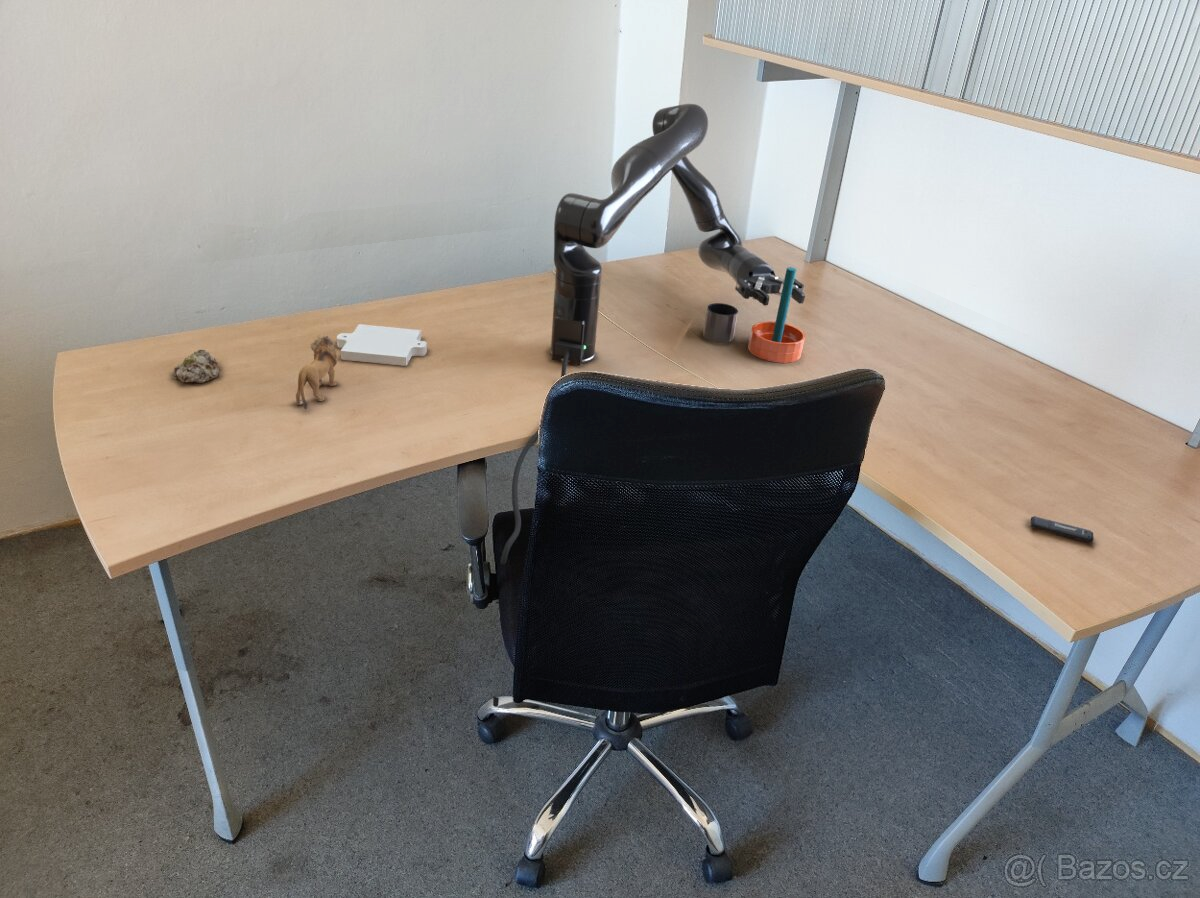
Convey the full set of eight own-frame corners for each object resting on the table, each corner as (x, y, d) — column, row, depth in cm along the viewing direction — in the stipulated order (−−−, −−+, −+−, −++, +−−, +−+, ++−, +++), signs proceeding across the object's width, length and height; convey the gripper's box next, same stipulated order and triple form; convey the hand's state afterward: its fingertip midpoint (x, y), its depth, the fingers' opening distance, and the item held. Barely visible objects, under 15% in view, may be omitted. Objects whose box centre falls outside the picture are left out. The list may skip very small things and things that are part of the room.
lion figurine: (314, 373, 170) (310, 330, 165) (343, 375, 170) (339, 332, 165) (291, 410, 157) (286, 365, 152) (321, 413, 157) (317, 367, 153)
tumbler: (730, 346, 196) (735, 317, 193) (700, 340, 198) (704, 311, 194) (734, 335, 202) (740, 306, 198) (705, 329, 203) (710, 301, 200)
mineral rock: (214, 375, 161) (167, 362, 159) (210, 395, 163) (164, 383, 161) (230, 351, 170) (186, 339, 168) (226, 370, 172) (183, 358, 170)
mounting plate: (328, 358, 175) (327, 349, 174) (347, 331, 186) (347, 322, 185) (419, 367, 175) (418, 358, 174) (432, 339, 186) (432, 331, 185)
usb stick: (1029, 529, 146) (1032, 521, 145) (1028, 520, 148) (1032, 513, 147) (1091, 545, 143) (1095, 538, 142) (1089, 536, 145) (1093, 529, 144)
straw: (778, 353, 194) (795, 271, 184) (769, 351, 195) (786, 269, 185) (779, 350, 196) (796, 268, 186) (770, 348, 196) (787, 266, 186)
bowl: (797, 369, 190) (802, 347, 187) (744, 358, 192) (748, 337, 189) (802, 347, 199) (807, 327, 197) (751, 337, 202) (755, 317, 199)
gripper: (725, 257, 198) (758, 285, 185) (781, 255, 202) (818, 282, 189) (720, 289, 202) (752, 318, 189) (775, 286, 206) (810, 315, 193)
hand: (785, 300), depth 189 cm, fingers open, 8 cm apart
